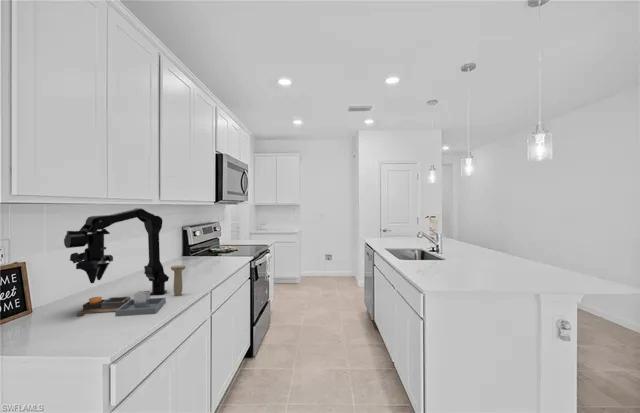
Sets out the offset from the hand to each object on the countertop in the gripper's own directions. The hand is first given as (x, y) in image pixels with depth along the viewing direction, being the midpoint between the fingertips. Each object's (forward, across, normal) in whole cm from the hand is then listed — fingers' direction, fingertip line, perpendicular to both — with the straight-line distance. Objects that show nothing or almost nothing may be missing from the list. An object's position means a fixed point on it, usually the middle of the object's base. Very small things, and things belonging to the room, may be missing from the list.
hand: (95, 281), depth 130 cm
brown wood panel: (+12, 0, +4) cm, 13 cm away
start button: (+9, 0, 0) cm, 10 cm away
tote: (+12, +6, +20) cm, 24 cm away
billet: (+11, +6, +20) cm, 24 cm away
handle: (+12, -13, +30) cm, 35 cm away
